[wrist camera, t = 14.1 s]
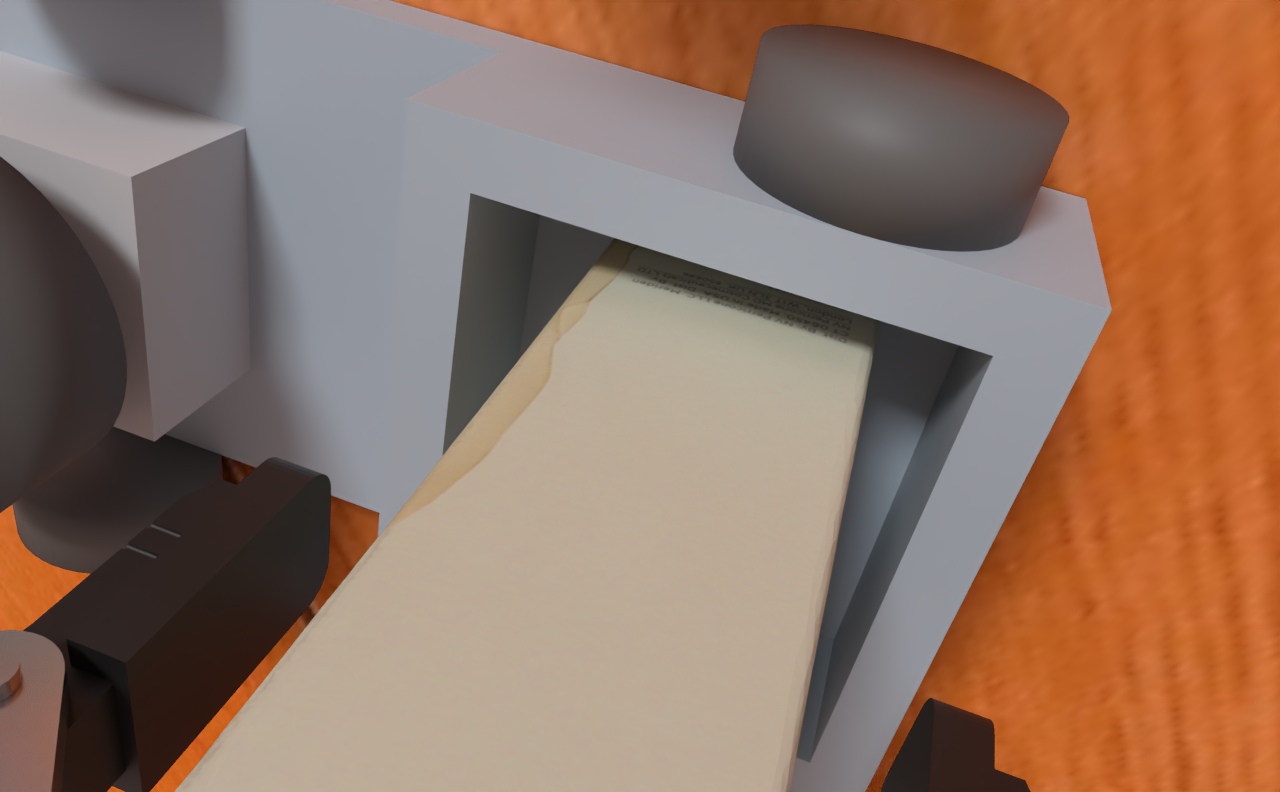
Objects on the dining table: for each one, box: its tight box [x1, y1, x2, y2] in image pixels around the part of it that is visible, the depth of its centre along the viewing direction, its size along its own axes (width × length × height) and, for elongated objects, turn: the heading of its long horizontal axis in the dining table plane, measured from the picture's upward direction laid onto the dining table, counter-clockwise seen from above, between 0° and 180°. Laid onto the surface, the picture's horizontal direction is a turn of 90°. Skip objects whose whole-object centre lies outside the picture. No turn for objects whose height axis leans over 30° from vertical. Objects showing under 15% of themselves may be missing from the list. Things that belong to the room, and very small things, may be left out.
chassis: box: [0, 0, 1112, 792], centre depth 18 cm, size 20×13×4 cm, turn 78°
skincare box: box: [175, 238, 880, 792], centre depth 12 cm, size 6×4×12 cm
